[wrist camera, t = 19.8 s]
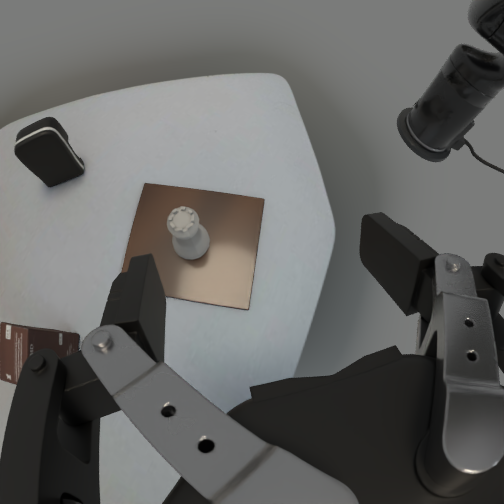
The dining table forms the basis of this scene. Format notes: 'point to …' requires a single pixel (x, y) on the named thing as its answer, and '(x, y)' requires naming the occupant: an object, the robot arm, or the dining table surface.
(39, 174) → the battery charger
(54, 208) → the dining table surface
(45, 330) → the box
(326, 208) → the dining table surface
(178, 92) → the dining table surface
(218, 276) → the serving board
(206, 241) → the rook chess piece
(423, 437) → the robot arm
